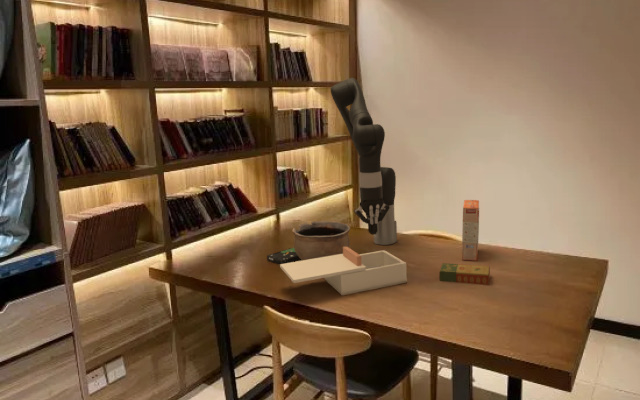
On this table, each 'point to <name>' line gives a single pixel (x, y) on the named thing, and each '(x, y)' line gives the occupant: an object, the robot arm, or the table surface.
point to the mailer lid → (324, 266)
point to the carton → (465, 273)
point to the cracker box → (470, 230)
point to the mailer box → (371, 274)
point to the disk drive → (283, 256)
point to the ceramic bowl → (320, 239)
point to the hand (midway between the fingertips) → (373, 233)
